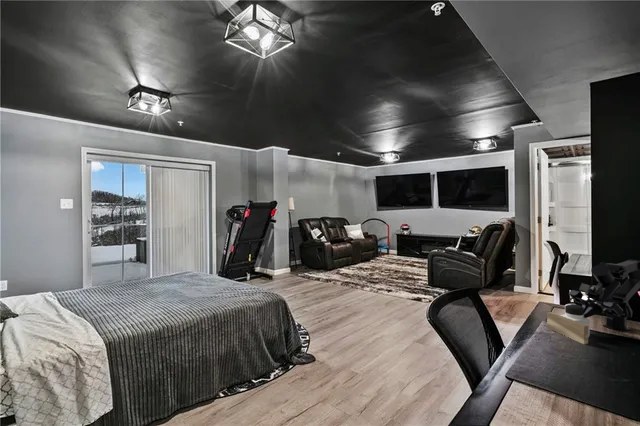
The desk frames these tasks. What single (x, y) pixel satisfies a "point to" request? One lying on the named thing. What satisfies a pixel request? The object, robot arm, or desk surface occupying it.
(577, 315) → the medicine bottle
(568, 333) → the oak wall
